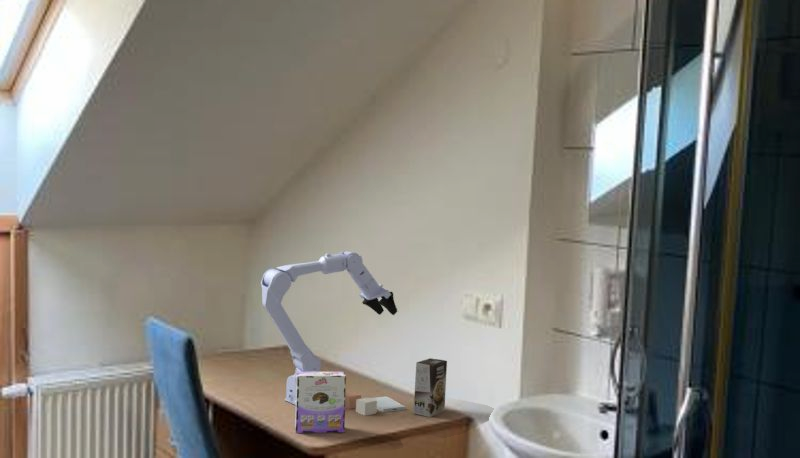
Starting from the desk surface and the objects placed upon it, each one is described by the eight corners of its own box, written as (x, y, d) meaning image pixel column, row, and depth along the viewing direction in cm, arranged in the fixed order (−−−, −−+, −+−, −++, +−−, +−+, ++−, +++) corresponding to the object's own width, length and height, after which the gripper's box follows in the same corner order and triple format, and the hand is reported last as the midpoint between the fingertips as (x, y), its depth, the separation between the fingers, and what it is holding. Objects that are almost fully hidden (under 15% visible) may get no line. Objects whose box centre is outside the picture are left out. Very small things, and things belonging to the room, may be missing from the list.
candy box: (342, 426, 244) (344, 370, 243) (344, 433, 238) (346, 375, 237) (294, 427, 242) (296, 370, 241) (295, 433, 236) (297, 375, 235)
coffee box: (430, 417, 257) (433, 365, 256) (412, 413, 261) (415, 362, 260) (445, 411, 265) (448, 360, 264) (427, 407, 268) (430, 357, 267)
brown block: (349, 409, 263) (349, 396, 262) (340, 406, 266) (341, 393, 266) (360, 407, 266) (361, 394, 265) (352, 403, 269) (352, 391, 269)
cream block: (364, 415, 257) (365, 402, 256) (355, 412, 260) (356, 399, 260) (376, 413, 259) (376, 400, 259) (367, 410, 263) (368, 397, 263)
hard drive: (365, 398, 272) (383, 408, 261) (387, 396, 276) (406, 406, 265) (365, 403, 272) (383, 414, 261) (387, 401, 276) (406, 411, 265)
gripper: (386, 273, 272) (408, 304, 277) (360, 274, 283) (382, 304, 288) (372, 288, 268) (396, 319, 273) (347, 288, 280) (370, 318, 285)
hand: (388, 312), depth 280 cm, fingers open, 7 cm apart
